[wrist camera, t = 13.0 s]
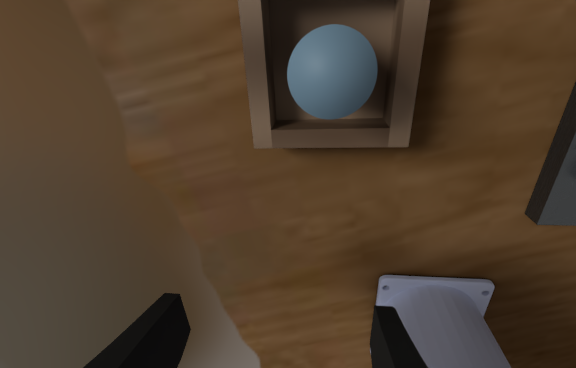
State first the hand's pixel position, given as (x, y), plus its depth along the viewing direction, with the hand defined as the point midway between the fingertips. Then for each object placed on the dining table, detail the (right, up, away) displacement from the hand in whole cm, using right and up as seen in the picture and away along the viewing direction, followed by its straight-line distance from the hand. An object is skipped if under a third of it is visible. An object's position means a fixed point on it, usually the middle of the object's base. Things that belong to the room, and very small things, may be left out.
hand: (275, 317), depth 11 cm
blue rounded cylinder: (+3, +11, +4) cm, 12 cm away
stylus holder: (+3, +12, +5) cm, 13 cm away
